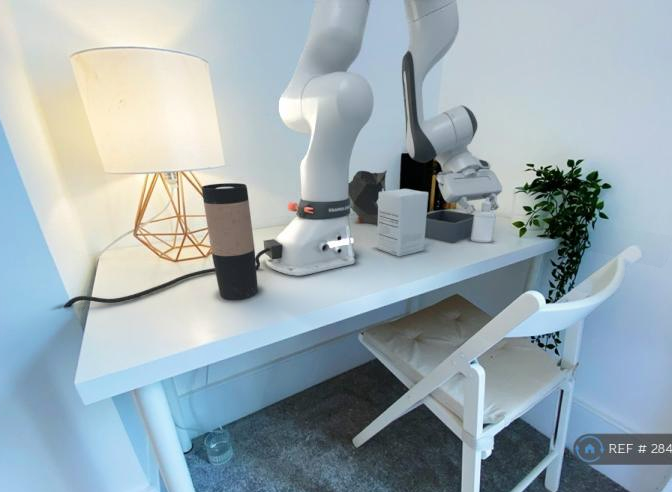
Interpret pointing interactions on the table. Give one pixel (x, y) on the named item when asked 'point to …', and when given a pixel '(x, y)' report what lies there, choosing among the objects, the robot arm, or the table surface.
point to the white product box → (401, 221)
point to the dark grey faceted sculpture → (366, 195)
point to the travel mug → (231, 239)
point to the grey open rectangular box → (448, 225)
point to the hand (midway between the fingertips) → (483, 210)
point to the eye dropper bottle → (483, 223)
